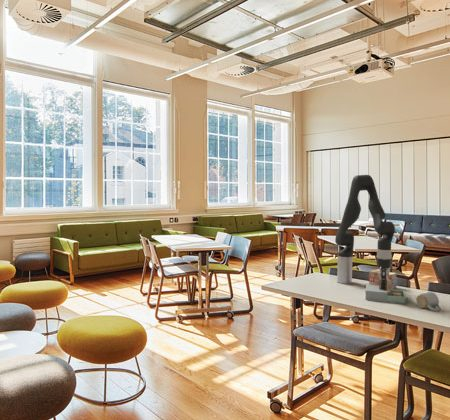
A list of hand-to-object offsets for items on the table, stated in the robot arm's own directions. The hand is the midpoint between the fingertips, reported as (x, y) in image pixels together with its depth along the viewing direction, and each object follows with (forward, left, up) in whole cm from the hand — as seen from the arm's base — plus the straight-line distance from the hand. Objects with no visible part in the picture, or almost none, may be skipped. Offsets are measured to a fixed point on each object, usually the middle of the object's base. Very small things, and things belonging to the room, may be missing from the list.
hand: (383, 287), depth 223 cm
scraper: (0, 0, 0) cm, 0 cm away
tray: (+1, +7, -6) cm, 9 cm away
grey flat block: (0, -3, -6) cm, 7 cm away
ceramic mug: (+13, +22, -6) cm, 26 cm away
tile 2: (-4, +7, -3) cm, 9 cm away
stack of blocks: (-22, 0, -6) cm, 23 cm away
